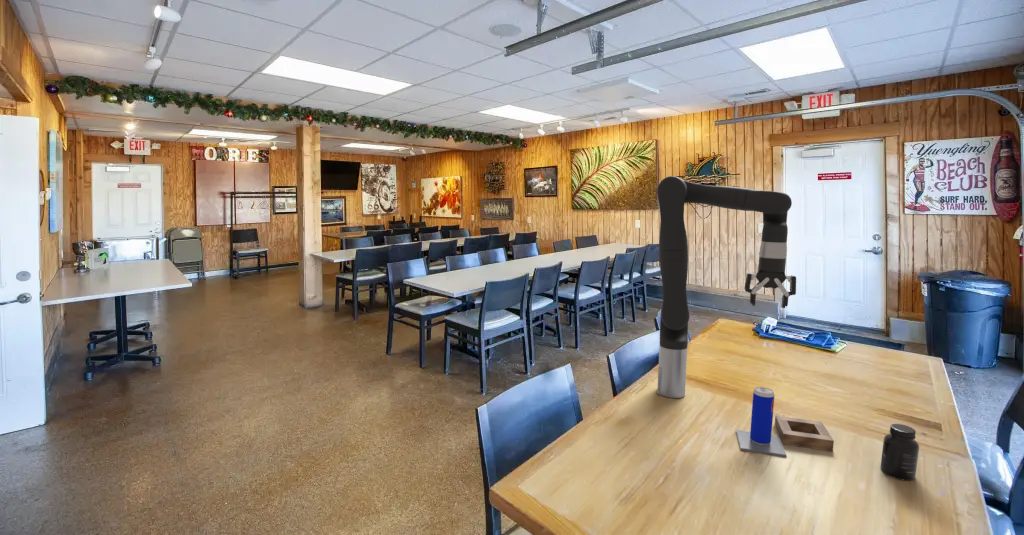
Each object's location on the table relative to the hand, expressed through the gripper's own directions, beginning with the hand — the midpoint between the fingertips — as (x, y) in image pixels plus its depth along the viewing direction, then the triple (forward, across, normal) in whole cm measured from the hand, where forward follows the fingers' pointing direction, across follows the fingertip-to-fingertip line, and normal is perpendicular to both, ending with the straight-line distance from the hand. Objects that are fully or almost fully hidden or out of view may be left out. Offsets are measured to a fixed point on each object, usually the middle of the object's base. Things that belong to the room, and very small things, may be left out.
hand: (768, 306), depth 152 cm
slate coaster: (+34, -4, -27) cm, 43 cm away
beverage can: (+34, -4, -27) cm, 43 cm away
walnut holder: (+34, +8, -19) cm, 40 cm away
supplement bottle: (+34, +26, -32) cm, 53 cm away
